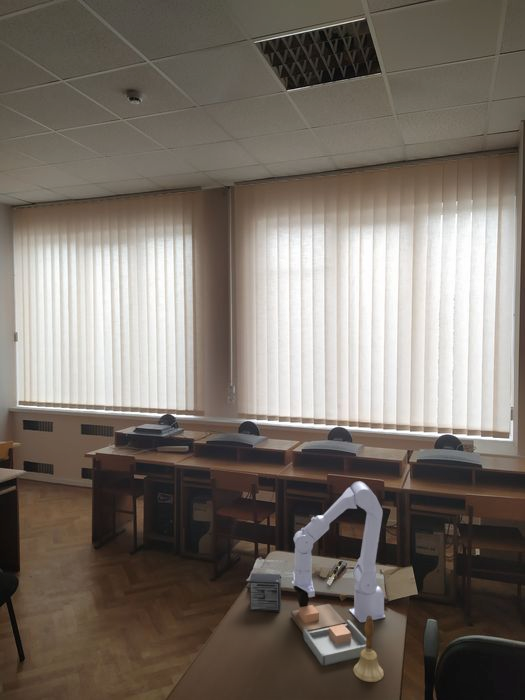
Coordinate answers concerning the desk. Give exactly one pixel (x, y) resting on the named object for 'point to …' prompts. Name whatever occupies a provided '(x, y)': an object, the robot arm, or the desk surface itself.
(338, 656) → the tray
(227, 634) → the desk surface
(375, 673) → the hand bell
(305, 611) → the tile far
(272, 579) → the small box
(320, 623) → the plate
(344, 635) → the tile near
